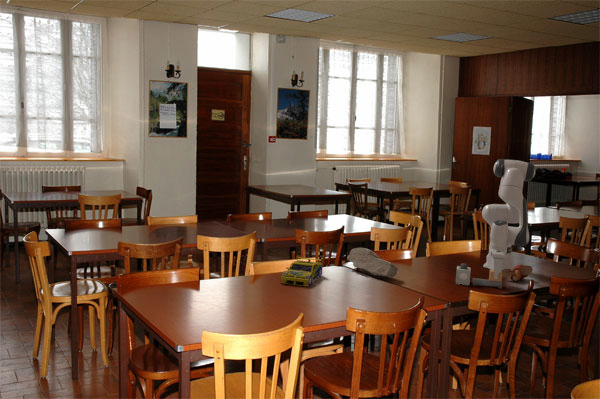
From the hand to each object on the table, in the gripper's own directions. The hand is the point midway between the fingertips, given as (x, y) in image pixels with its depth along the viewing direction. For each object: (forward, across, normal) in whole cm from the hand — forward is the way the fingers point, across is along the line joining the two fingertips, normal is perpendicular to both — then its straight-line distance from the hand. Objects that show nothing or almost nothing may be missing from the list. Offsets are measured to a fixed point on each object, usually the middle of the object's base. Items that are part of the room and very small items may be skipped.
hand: (495, 277), depth 310 cm
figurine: (+5, -20, +12) cm, 24 cm away
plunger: (0, 0, -16) cm, 17 cm away
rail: (+5, 0, -4) cm, 6 cm away
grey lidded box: (+5, 0, -16) cm, 17 cm away
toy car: (+6, +30, -98) cm, 102 cm away
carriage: (+4, 0, 0) cm, 4 cm away
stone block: (+5, +2, -66) cm, 67 cm away
